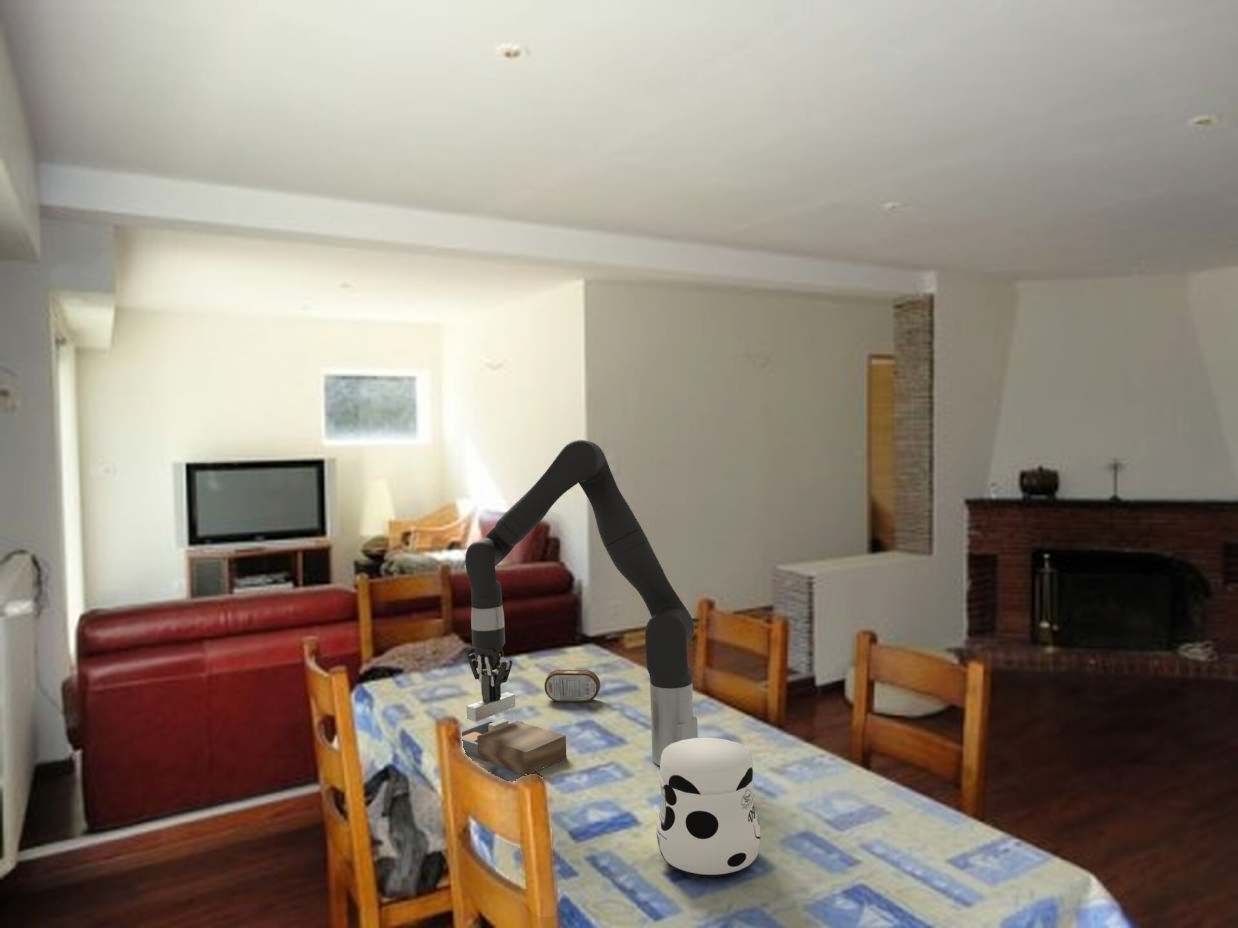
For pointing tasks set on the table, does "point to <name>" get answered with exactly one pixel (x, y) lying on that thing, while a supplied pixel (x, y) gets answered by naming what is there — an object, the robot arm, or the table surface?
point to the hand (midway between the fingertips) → (491, 699)
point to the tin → (572, 685)
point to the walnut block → (521, 747)
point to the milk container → (707, 807)
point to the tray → (470, 745)
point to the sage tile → (497, 724)
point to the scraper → (489, 702)
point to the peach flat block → (472, 736)
